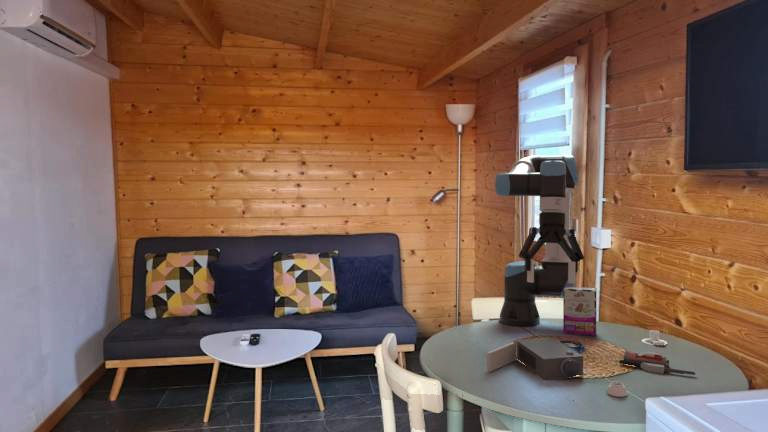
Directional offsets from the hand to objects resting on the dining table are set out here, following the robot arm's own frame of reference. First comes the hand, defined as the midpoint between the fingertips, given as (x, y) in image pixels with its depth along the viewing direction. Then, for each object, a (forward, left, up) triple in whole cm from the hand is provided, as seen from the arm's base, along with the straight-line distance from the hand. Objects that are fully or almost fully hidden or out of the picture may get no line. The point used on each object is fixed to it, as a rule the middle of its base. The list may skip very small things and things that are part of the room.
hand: (551, 282), depth 170 cm
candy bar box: (-27, +26, -25) cm, 45 cm away
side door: (-1, -15, -25) cm, 29 cm away
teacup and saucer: (-11, +41, -25) cm, 50 cm away
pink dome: (+26, +6, -25) cm, 36 cm away
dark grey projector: (+4, -2, -25) cm, 25 cm away
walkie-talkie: (+11, +28, -25) cm, 39 cm away
